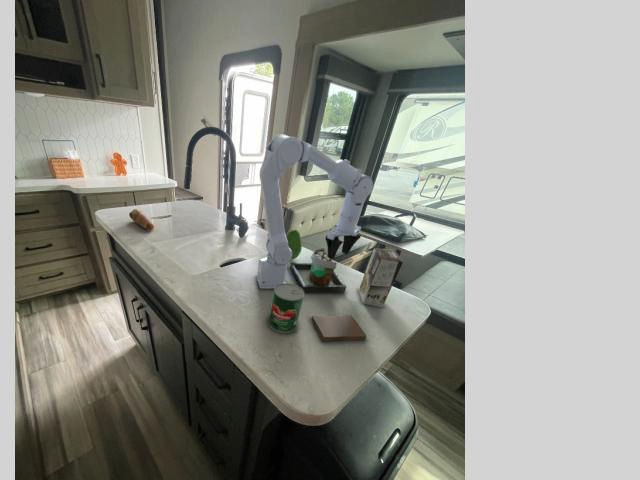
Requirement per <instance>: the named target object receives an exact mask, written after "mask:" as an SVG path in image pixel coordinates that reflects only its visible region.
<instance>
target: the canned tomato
mask: <svg viewBox="0 0 640 480" xmlns="http://www.w3.org/2000/svg"><path fill="white" fill-rule="evenodd" d="M272 294H273V295H272V302H271V306H270V312H269V318H268V325H269V327H270V328H271V329H272V330H274V331H276V332H278V333H284V334H288V333H292V332H294V331H295V330H296V329H297V326H298V322H299V317H300V314H301V310H302V306H303V301H304V296H305V293H304V291H303V290H302V288H300V287H299V286H298V285H296V284H294V283H289V282H288V283H286V282H285V283H283V284H279V285H277V286H276V287H275V288H274V289H273V293H272Z"/></svg>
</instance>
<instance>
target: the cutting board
mask: <svg viewBox="0 0 640 480" xmlns="http://www.w3.org/2000/svg"><path fill="white" fill-rule="evenodd" d="M311 321H312V323H313V325H314V328H315V330H316V331H317V333H318V335H319V338H320V339H321V342H341V341H342V342H345V341H347V342H348V341H365V340H366V338H367V334H366V333H365V332H364V330H363V329H362V327H361V326H360V325H359V323H358V322H357V320H356V319H355V317H354V316H353V315H352V314H336V315H335V314H334V315H332V314H331V315H312V317H311Z"/></svg>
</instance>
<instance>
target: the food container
mask: <svg viewBox="0 0 640 480" xmlns="http://www.w3.org/2000/svg"><path fill="white" fill-rule="evenodd" d="M310 260H311V263H312V266H311V270H310V273H309V280H310V281H311V283H313V285H330V283H331V281H332V279H331V277H332V274H333V271H335V270H336V268H337V261H336V262H335V261H333V259H331V258H329V257H328V253H326V251H325V247H321V248H316V249H315V250H314V251H313V252H312V254H311V256H310Z"/></svg>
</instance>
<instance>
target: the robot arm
mask: <svg viewBox="0 0 640 480" xmlns="http://www.w3.org/2000/svg"><path fill="white" fill-rule="evenodd" d="M298 162H300V163H305V162H308V163H311V164H312V165H313V166H316V167H318V168H319V169H320V170H322V171H325V173H327V179H328V180H329V181H331V182H332V183H334V184H335V185H337V186H339V187H340V188H342V189H344V190H345V192H346V193H345V196H344V201H343V203H342V206H341V209H340V214H339V216H338V221H337V224H336V226H335V228H333V229H332V230H331V231H328V233H327V235H325V238H324V239H325V243H326V247H327V255H328V257H329V258H331V260H334V259H335V258H336V256H337V254H338V253H337V252H338V251H339V248H340V247H341V253H342V254H344V255H347V256H348V254H350V252H351V250H352V248H353V247H354V245H355V244H356V243H357V241H358V240H360V239H361V238H362V237H361V236H362V235H361V234H359V233H361V231H362V230H361V229H362V226H359V225H358V222H359V219H360V217H361V213H362V210H363V207H364V204H365V202H366V200H367V198H368V197H369V196H370V194H371V193H372V192H373V191H374V188H375V187H374V186H373V184H374V181H373V178H372V177H370V176H369V175H367V174H363V173H362V172H363V170H362V169H361V168H355V167H354V166H353V165H351V161H349V159H338V160H334V159H332V158H330V157H329V156H328V155H326V154H325V153H324V152H323V151H321V150H320V149H318V148H317V147H315V146H314V145H312V144H310V143H309V142H306V141H304V140H301V139H299V138H298V137H296V136H289V135H287V134H285V133H284V134H283V133H280V134H277V135H275V136H274V137H273V138H272V140H271V141H270V142H269V144H268V145H267V146H266V150H265V154H264V158H263V160H262V164H261V167H260V170H259V180H260V187H261V194H262V199H263V207H264V213H265V219H266V220H265V221H266V225H267V234H266V236H267V237H266V238H267V239H266V240H267V241H266V243H265V248H266V250H267V254H266V257H265V258H260V259H259V260H258V264H257V272H256V273H257V274H256V280H257V283H258V287H259V289H263V290H265V289H267V290H268V289H270V290H271V289H273V290H274V288H275V287H276V286H277V285H279V284H283V283H286V281H285V279H286V273H287V269H288V263H289V262H290V261H291V260H292V259H291V258H292V251H291V249H290V248H289V246H288V241H287V238H286V236H287V234H286V230H285V223H284V214H283V205H282V195H281V187H280V178H281V177H282V176H283V175H284V173H285V172H286V171H287V170H289V169H290V168H292V167H293V166H295V165H296V164H297V163H298ZM340 237H343V240H340ZM341 245H342V246H341Z"/></svg>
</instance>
